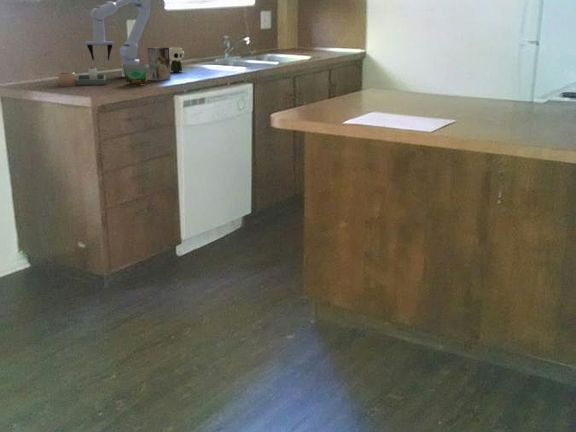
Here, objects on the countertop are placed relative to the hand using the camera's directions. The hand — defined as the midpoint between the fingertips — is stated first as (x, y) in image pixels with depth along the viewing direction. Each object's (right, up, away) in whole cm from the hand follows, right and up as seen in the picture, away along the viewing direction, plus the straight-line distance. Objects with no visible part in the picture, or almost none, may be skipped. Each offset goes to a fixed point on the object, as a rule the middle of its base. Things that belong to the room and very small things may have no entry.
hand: (100, 59), depth 377 cm
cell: (-1, -13, -10) cm, 16 cm away
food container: (+23, -17, -20) cm, 35 cm away
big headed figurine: (+34, 0, +31) cm, 46 cm away
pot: (-10, -17, -23) cm, 30 cm away
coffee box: (+30, -10, +1) cm, 32 cm away
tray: (-2, -14, -12) cm, 18 cm away
